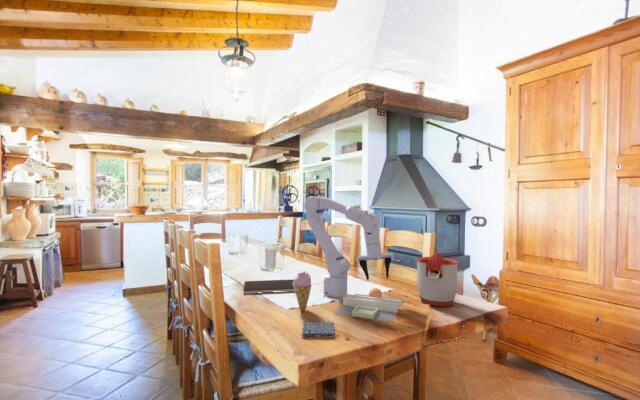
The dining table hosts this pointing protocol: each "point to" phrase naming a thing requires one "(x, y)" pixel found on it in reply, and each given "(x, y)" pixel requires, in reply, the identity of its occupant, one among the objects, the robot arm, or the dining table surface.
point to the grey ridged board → (384, 305)
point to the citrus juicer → (437, 280)
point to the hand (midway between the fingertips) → (377, 278)
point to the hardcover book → (268, 286)
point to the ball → (375, 293)
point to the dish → (365, 312)
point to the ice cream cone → (302, 289)
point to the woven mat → (318, 330)
